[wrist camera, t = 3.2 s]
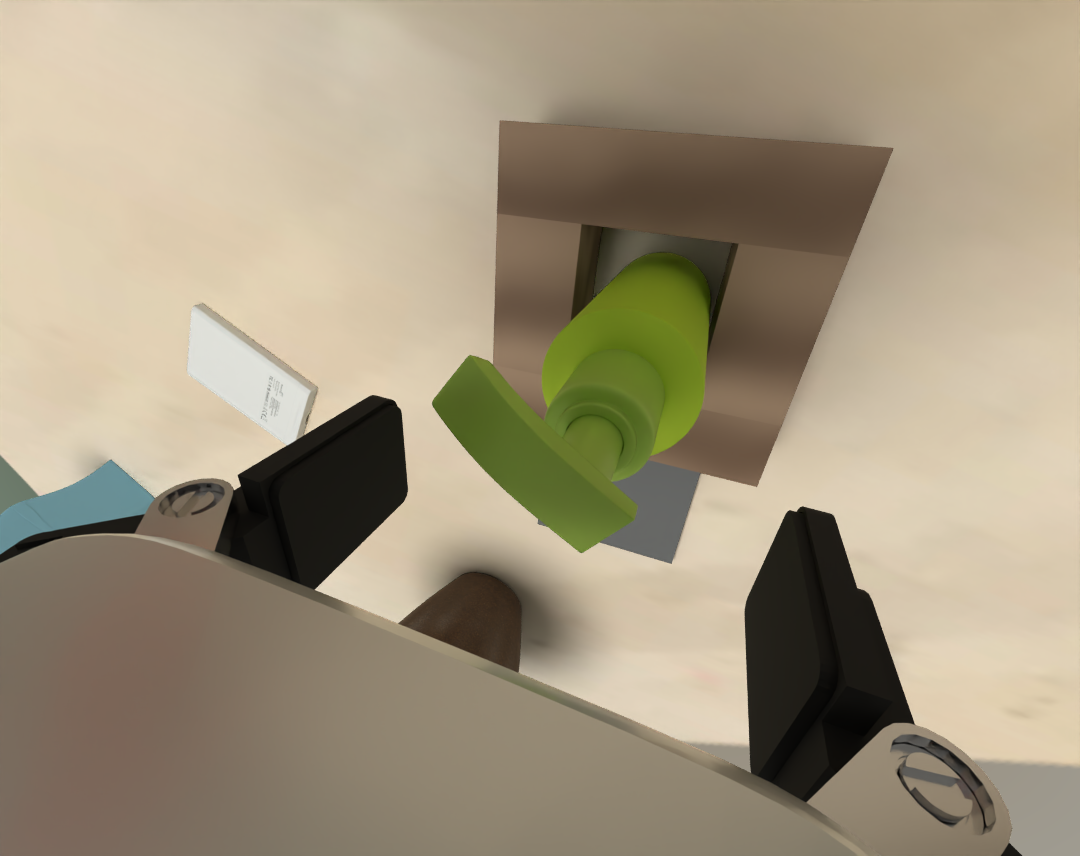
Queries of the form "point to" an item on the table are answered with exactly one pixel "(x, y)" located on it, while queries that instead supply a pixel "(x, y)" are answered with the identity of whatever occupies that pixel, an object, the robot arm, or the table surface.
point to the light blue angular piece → (76, 505)
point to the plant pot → (473, 618)
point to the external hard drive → (248, 376)
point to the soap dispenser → (593, 400)
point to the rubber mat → (655, 510)
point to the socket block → (689, 211)
